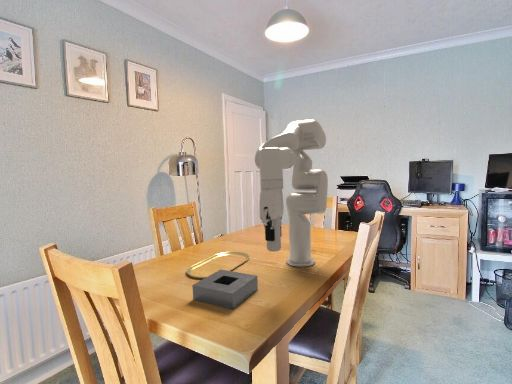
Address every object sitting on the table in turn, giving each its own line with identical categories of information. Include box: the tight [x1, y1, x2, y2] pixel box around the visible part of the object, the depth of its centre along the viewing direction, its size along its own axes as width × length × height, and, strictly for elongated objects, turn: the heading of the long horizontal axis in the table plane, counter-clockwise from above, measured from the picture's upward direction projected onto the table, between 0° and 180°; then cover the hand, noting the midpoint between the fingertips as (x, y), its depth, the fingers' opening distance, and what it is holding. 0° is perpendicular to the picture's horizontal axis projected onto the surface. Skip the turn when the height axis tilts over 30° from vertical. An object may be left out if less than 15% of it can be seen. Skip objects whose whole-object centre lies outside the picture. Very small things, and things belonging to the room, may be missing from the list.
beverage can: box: [266, 215, 282, 252], centre depth 97 cm, size 5×5×12 cm
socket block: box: [192, 268, 259, 310], centre depth 99 cm, size 16×16×5 cm
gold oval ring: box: [186, 251, 250, 280], centre depth 130 cm, size 19×35×2 cm, turn 153°
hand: (273, 238), depth 97 cm, fingers closed on beverage can, 4 cm apart
